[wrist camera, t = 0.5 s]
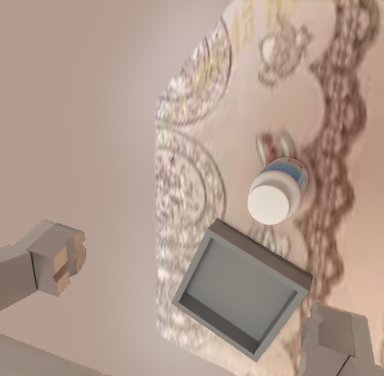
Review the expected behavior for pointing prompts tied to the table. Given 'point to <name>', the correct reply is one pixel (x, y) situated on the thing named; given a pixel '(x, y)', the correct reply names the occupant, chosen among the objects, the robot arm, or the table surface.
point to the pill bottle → (277, 191)
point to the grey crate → (240, 289)
